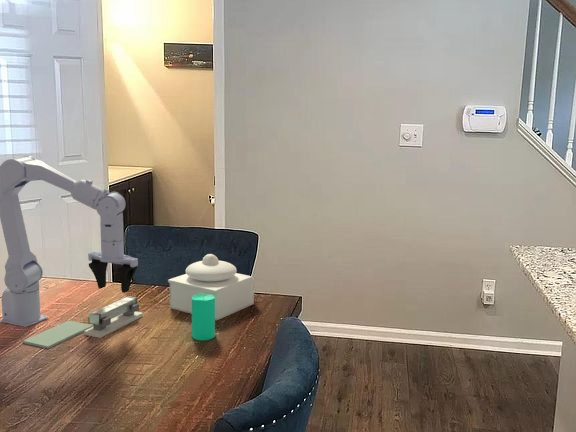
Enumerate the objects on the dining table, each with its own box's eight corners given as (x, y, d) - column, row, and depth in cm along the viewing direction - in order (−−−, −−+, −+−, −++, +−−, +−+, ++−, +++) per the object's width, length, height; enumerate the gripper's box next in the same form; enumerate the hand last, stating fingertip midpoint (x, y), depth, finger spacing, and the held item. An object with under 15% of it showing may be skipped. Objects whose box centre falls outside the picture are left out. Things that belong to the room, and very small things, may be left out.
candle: (210, 341, 160) (210, 295, 158) (188, 339, 161) (188, 293, 159) (218, 332, 166) (218, 288, 163) (196, 330, 167) (196, 286, 164)
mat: (22, 343, 156) (22, 340, 156) (68, 322, 170) (68, 320, 170) (48, 348, 153) (48, 346, 153) (92, 327, 167) (92, 325, 167)
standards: (83, 334, 162) (83, 319, 161) (127, 313, 178) (127, 299, 178) (100, 338, 160) (99, 322, 159) (143, 316, 176) (142, 301, 176)
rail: (89, 322, 162) (89, 313, 162) (128, 304, 177) (128, 295, 176) (99, 324, 161) (98, 315, 160) (137, 306, 175) (137, 297, 175)
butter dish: (253, 304, 189) (254, 252, 186) (215, 321, 174) (215, 265, 171) (208, 293, 198) (208, 244, 195) (168, 309, 183) (167, 255, 180)
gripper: (79, 239, 164) (81, 289, 167) (125, 245, 158) (126, 297, 161) (97, 234, 170) (99, 282, 173) (142, 240, 165) (143, 290, 167)
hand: (113, 289), depth 167 cm, fingers open, 7 cm apart
